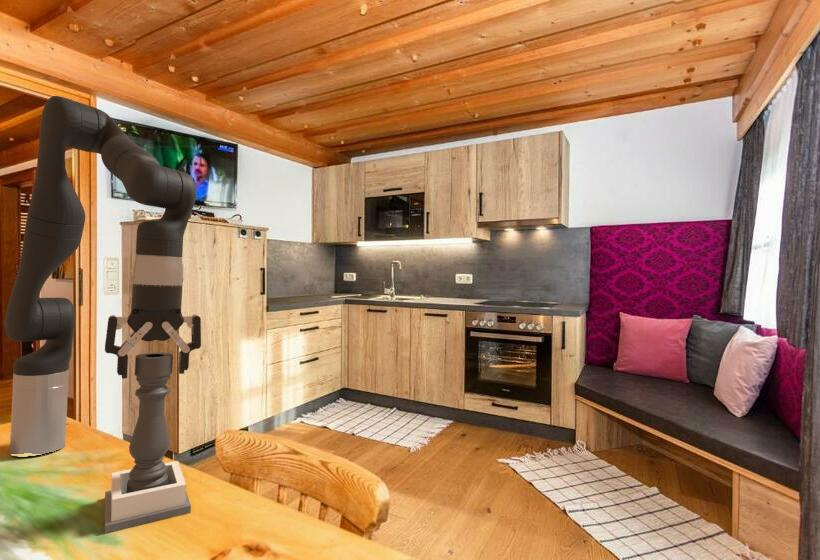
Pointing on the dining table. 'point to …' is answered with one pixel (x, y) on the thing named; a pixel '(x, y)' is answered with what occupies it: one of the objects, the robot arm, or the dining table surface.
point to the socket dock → (145, 500)
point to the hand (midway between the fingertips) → (153, 375)
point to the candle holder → (150, 422)
